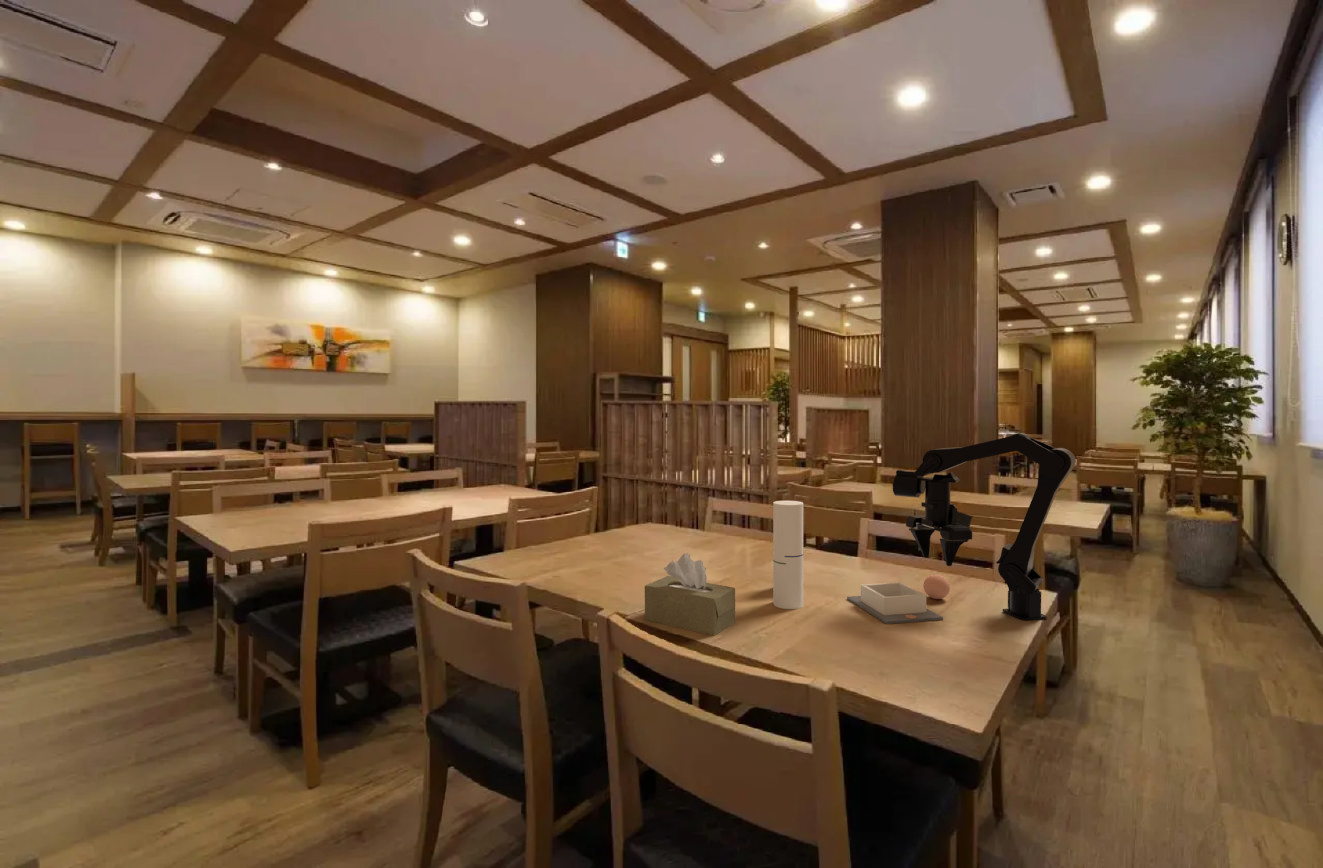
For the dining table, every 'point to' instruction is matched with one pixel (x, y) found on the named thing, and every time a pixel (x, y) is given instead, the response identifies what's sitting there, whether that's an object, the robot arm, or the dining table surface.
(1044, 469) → the robot arm
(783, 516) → the cylindrical container
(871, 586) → the tray on grey plate
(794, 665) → the dining table surface
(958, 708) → the dining table surface
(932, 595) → the terracotta ball
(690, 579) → the tissue box
